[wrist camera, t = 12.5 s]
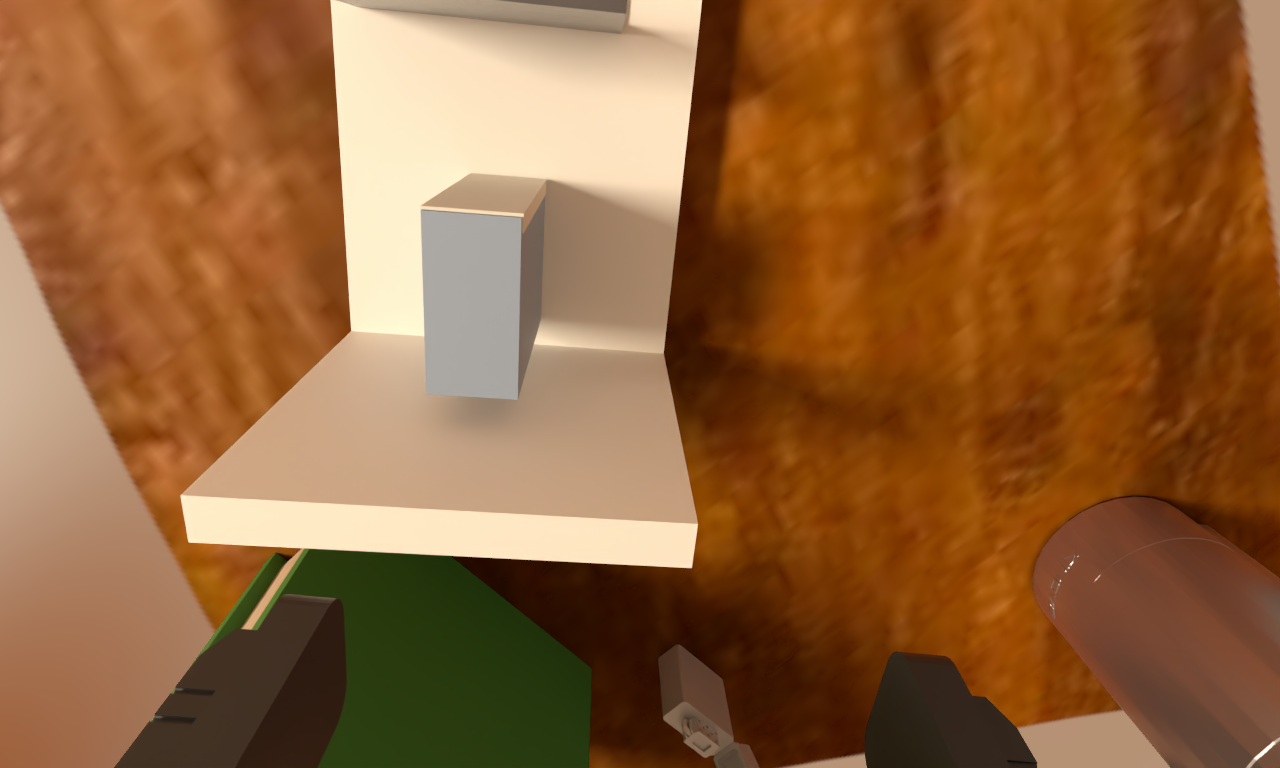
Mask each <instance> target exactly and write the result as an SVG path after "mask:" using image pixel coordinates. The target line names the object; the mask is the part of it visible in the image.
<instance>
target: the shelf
mask: <svg viewBox="0 0 1280 768" xmlns="http://www.w3.org/2000/svg"><path fill="white" fill-rule="evenodd" d="M701 7H702V0H627V10H626V17H625V21H624V25H623V29H622V33H621V34H615V33H606V32H596V31H586V30H576V29H567V28H557V27H547V26H537V25H528V24H518V23H508V22H498V21H489V20H479V19H469V18H459V17H450V16H440V15H430V14H420V13H411V12H401V11H391V10H381V9H372V8H362V7H356V6H353V5H349V4H346V3H343V2H339V1H336V0H331V12H332V28H333V44H334V60H335V77H336V93H337V109H338V125H339V141H340V157H341V173H342V189H343V205H344V221H345V237H346V253H347V269H348V285H349V301H350V317H351V332H350V333H349V334H348V335H347V336H346V337H345V338H344V339H342V340H341V341H340V342H339V343H338V344H337V345H336V346H335V347H334V348H333V349H332V350H331V351H330V352H329V353H328V354H327V355H326V356H325V357H324V358H323V359H322V360H321V361H320V362H319V363H318V364H316V365H315V366H314V367H313V368H312V369H311V370H310V371H309V372H308V373H307V374H306V375H305V376H304V377H303V378H302V379H301V380H300V381H299V382H298V383H297V384H296V385H295V386H294V387H293V388H292V389H290V390H289V391H288V392H287V393H286V394H285V395H284V396H283V397H282V398H281V399H280V400H279V401H278V402H277V403H276V404H275V405H274V406H273V407H272V408H271V409H270V410H269V411H268V412H267V413H266V414H264V415H263V416H262V417H261V418H260V419H259V420H258V421H257V422H256V423H255V424H254V425H253V426H252V427H251V428H250V429H249V430H248V431H247V432H246V433H245V434H244V435H243V436H242V437H241V438H240V439H238V440H237V441H236V442H235V443H234V444H233V445H232V446H231V447H230V448H229V449H228V450H227V451H226V452H225V453H224V454H223V455H222V456H221V457H220V458H219V459H218V460H217V461H216V462H215V463H214V464H212V465H211V466H210V467H209V468H208V469H207V470H206V471H205V472H204V473H203V474H202V475H201V476H200V477H199V478H198V479H197V480H196V481H195V482H194V483H193V484H192V485H191V486H190V487H189V488H188V489H186V490H185V491H184V492H183V493H182V494H181V501H182V507H183V513H184V519H185V525H186V531H187V536H188V542H192V543H211V544H231V545H250V546H270V547H289V548H309V549H328V550H348V551H367V552H387V553H406V554H426V555H445V556H465V557H484V558H504V559H523V560H543V561H562V562H582V563H601V564H621V565H640V566H660V567H679V568H692V563H693V556H694V549H695V542H696V535H697V528H698V521H697V516H696V511H695V506H694V501H693V497H692V492H691V487H690V482H689V477H688V472H687V467H686V462H685V457H684V452H683V447H682V442H681V437H680V432H679V427H678V422H677V417H676V412H675V407H674V402H673V397H672V392H671V387H670V382H669V377H668V372H667V367H666V362H665V357H664V346H665V337H666V328H667V319H668V309H669V300H670V291H671V282H672V273H673V264H674V254H675V245H676V236H677V227H678V218H679V209H680V199H681V190H682V181H683V172H684V163H685V154H686V144H687V135H688V126H689V117H690V108H691V99H692V89H693V80H694V71H695V62H696V53H697V44H698V34H699V25H700V16H701ZM470 173H476V174H488V175H501V176H513V177H526V178H538V179H546V195H545V214H544V245H543V276H542V307H541V321H540V324H539V328H538V331H537V335H536V338H535V342H534V345H533V349H532V352H531V356H530V359H529V363H528V366H527V369H526V373H525V376H524V380H523V383H522V387H521V390H520V394H519V397H518V400H513V399H497V398H480V397H463V396H446V395H429V394H426V372H425V339H424V307H423V275H422V242H421V212H420V206H421V205H422V204H424V203H425V202H427V201H428V200H430V199H431V198H433V197H434V196H436V195H438V194H439V193H441V192H442V191H444V190H445V189H447V188H448V187H450V186H451V185H453V184H454V183H456V182H458V181H459V180H461V179H462V178H464V177H465V176H467V175H468V174H470Z"/></svg>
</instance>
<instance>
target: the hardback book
mask: <svg viewBox="0 0 1280 768" xmlns="http://www.w3.org/2000/svg"><path fill="white" fill-rule="evenodd" d="M285 594H293V595H304V596H315V597H325V598H336V599H340V600H341V601H342V604H343V608H344V626H345V647H346V669H347V688H346V695H345V701H344V705H343V709H342V713H341V716H340V719H339V722H338V725H337V727H336V729H335V732H334V734H333V736H332V738H331V740H330V742H329V745H328V747H327V749H326V751H325V753H324V755H323V757H322V760H321V762H320V764H319V766H318V768H589V750H590V717H591V683H592V668H591V667H589V666H588V665H587V664H586V663H584V662H583V661H582V660H581V659H579V658H578V657H577V656H575V655H574V654H573V653H572V652H570V651H569V650H568V649H567V648H565V647H564V646H563V645H562V644H560V643H559V642H558V641H557V640H555V639H554V638H553V637H552V636H550V635H549V634H548V633H547V632H545V631H544V630H543V629H542V628H540V627H539V626H538V625H537V624H535V623H534V622H533V621H532V620H530V619H529V618H528V617H526V616H525V615H524V614H523V613H521V612H520V611H519V610H518V609H516V608H515V607H514V606H513V605H511V604H510V603H509V602H508V601H506V600H505V599H504V598H503V597H501V596H500V595H499V594H498V593H496V592H495V591H494V590H493V589H491V588H490V587H489V586H488V585H486V584H485V583H484V582H483V581H481V580H480V579H479V578H477V577H476V576H475V575H474V574H472V573H471V572H470V571H469V570H467V569H466V568H465V567H464V566H462V565H461V564H460V563H459V562H457V561H456V560H455V559H454V558H452V557H451V556H445V555H426V554H406V553H387V552H367V551H348V550H328V549H309V548H302V549H301V550H300V551H299V552H298V553H297V554H296V555H294V556H293V557H292V558H291V559H290V560H289V561H287V560H286V559H284V558H283V557H282V556H280V555H279V554H277V553H275V554H274V555H273V556H272V557H271V558H270V559H269V560H268V561H266V562H265V564H264V565H263V566H262V568H261V569H260V571H259V572H258V573H257V575H256V576H255V578H254V579H253V580H252V582H251V583H250V585H249V586H248V587H247V589H246V590H245V592H244V593H243V594H242V596H241V597H240V599H239V600H238V601H237V603H236V604H235V606H234V607H233V608H232V610H231V611H230V612H229V614H228V615H227V617H226V618H225V619H224V621H223V622H222V624H221V625H220V626H219V628H218V629H217V631H216V632H215V633H214V635H213V636H212V638H211V639H210V641H209V642H208V643H207V645H206V646H205V647H204V649H203V650H202V652H201V653H200V654H202V653H203V652H204V651H206V650H207V649H209V648H210V647H211V646H213V645H214V644H216V643H217V642H218V641H220V640H221V639H223V638H224V637H225V636H227V635H228V634H229V633H231V632H232V631H234V630H235V629H236V628H237V629H248V630H258V628H259V627H260V625H261V624H262V623H263V621H264V620H265V618H266V617H267V615H268V614H269V612H270V611H271V610H272V608H273V607H274V605H275V604H276V602H277V601H278V600H279V599H280V598H281V597H282V596H283V595H285ZM200 654H199V655H200ZM198 657H199V656H198ZM198 657H197V658H198ZM197 658H196V659H197ZM195 661H196V660H195ZM195 661H194V662H195ZM192 665H193V664H192ZM189 669H190V668H189ZM186 673H187V672H186ZM174 692H175V689H174V691H173V692H172V693H171V694H174ZM153 720H154V718H153ZM153 720H152V721H153ZM152 721H151V722H152Z"/></svg>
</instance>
